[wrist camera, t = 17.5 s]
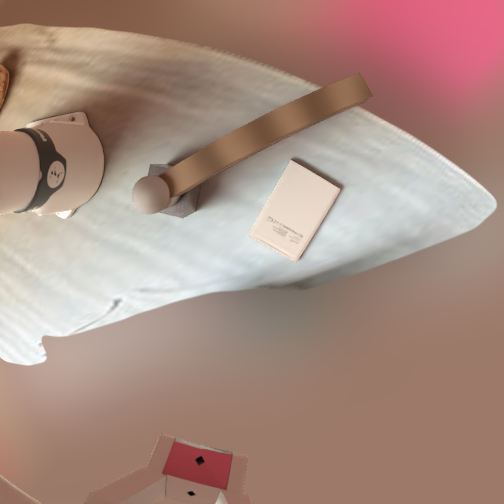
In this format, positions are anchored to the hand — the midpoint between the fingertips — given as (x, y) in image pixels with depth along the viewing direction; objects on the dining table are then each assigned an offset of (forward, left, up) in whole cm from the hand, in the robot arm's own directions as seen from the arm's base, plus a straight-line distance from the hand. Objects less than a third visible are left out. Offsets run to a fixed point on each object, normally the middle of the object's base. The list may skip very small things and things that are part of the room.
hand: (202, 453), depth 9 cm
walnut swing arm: (-4, +11, -31) cm, 34 cm away
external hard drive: (+3, +3, -39) cm, 39 cm away
